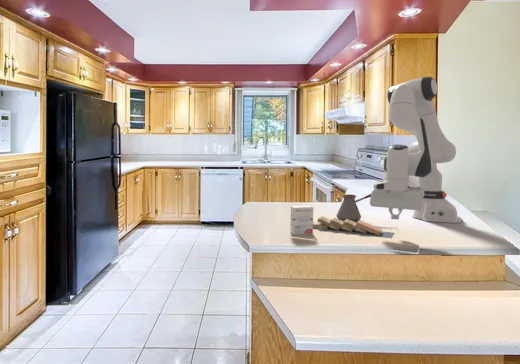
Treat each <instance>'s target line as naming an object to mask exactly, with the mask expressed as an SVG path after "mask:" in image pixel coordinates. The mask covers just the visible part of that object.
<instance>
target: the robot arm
mask: <svg viewBox="0 0 520 364" xmlns="http://www.w3.org/2000/svg"><path fill="white" fill-rule="evenodd" d="M437 94H438V84H437V81H436V80H435V78H434V77H432V76H423V77H421V78H414V79H410V80H408V81H404V82H401V83H399V84H395V85H392V86H391V87H390V88H389V89H388V90H387V95H386V96H387V97H386V98H387V101H388V103H389V109H388V117H389V121H390V122H391V124H392V126H394V127H396V128H397V129H400V130H402V131H406V132H408V133H411V134H413V135H414V136H415V138H416V141H415V142H413V143H411V145H410V147H409V146H407V145H405V144H392V145H390V146H389V147H388V150H387V155H386V156H384V159H383V160H384V161H383V170H384V171H385V172H386V174H385V180H382V181H378V182H375V183H374V184H373V190H372V191H371V192H370V194H371V197H369V205H370V206H371V207H375V208H385V209H386V208H388V212H389V213H390V219H391V220H400V215H401V213H402V212H403V210H411V211H413V213H412V217H413V218H415V219H418V220H422V221H425V222H433V223H435V222H437V223H453V224H461V223H462V219H463V218H462V217H461V216H459V215H458V212H457V210H458V209H457V208H456V207H455V206H456V205H454V204H453V203H451V202H450V201H449V200H447V198H446V197H447V195H448V194H447V193H446V192H445V191H443V190H442V189H443V188H442V187H443V175H442V173H441V172H440V170H439V169H438V167H437V164H445V163H449V162H452V161H454V159H455V157H456V155H457V148H456V146H455V144H454V143H453V142H451V141H450V140H449V138H447V137H446V135H445V134H444V133H443V130H442V129H441V127H440V124H439V120H438V119H439V118H438V117H437V116H438V115H437V111H436V107H435V105H434V101H433V100H434V98H435V97H436V96H437ZM410 177H417V186H413V185H412V186H411V185H410V184H409V183H410ZM409 185H410V186H409ZM394 209H398V210H397V212H398V213H397V214H395V213H394V212H393V210H394Z"/></svg>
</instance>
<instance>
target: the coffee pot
mask: <svg viewBox="0 0 520 364" xmlns="http://www.w3.org/2000/svg"><path fill="white" fill-rule="evenodd" d="M342 197H343V200H342V202H341V205H340V207H339V209H338V211H337V214H336V218H337V219H339V220H342V221H345V220H346V219H348V220H351V221H353V222H356V223H357V222H358V221H359V220H361V218H362V216H361V213H360V212H361V211H360V210H359V208H358V205H357V203H358V202H360V201H362V200H365V199H368V198H370V197H371V193H370V194H367V195H365V196H364V197H361V198H359V199H356V197H357V195H356V194H347V193H346V194H342Z"/></svg>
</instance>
